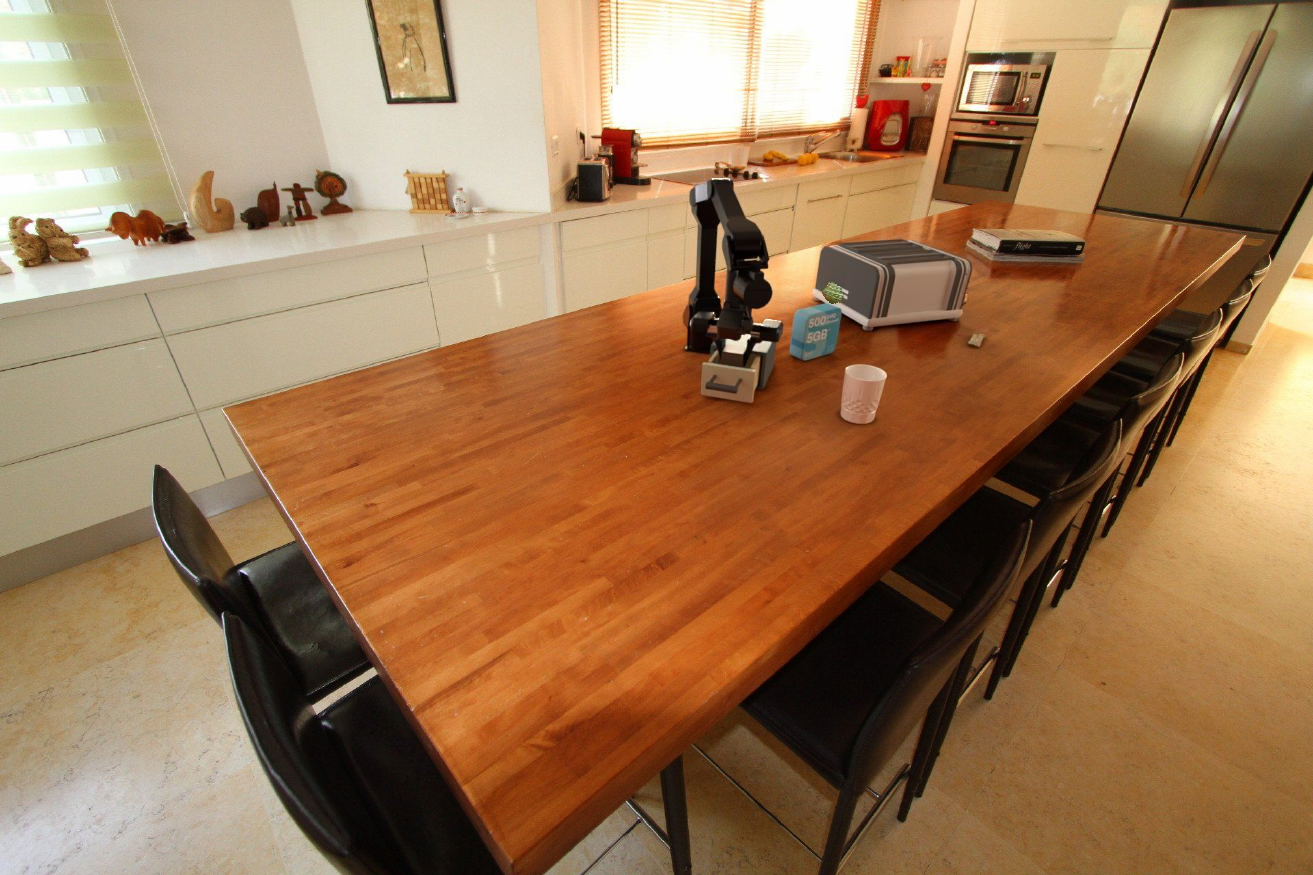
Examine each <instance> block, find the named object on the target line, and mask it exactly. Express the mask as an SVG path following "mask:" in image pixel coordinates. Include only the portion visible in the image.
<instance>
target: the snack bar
mask: <svg viewBox="0 0 1313 875" xmlns="http://www.w3.org/2000/svg"><path fill="white" fill-rule="evenodd" d="M985 338H986V334H985V333H973V334H972V336H971V338H970V340H969V341H968V342H967V344H969V345H971V346H973V347H975V348H980V347H981V344H982V342H983V340H984V339H985Z"/></svg>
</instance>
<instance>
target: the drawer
mask: <svg viewBox="0 0 1313 875" xmlns="http://www.w3.org/2000/svg"><path fill="white" fill-rule="evenodd" d="M762 360H763V355H757V354H751V355H750V357H749V359H748V361H747V364H746V366H745V368H740V367H733V366H727V365H721V359H720V356H719V353H718V349H717V350H716V351H715V353H714V354H713V356H712V357H711V358H710V357H709V360H708V362H706V361H703V363H702V364H701V365H702V366H701V368H702V369H701V385H700V386H701V387H700V395H701V396H707V397H713V398H719V399H726V400H731V401H737V402H743V403H749V404H753V402H754V396H755V391H756V390H757V389H756V387H757V385H758V383H759V381H760V379H761V369H762Z"/></svg>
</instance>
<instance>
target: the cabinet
mask: <svg viewBox="0 0 1313 875" xmlns="http://www.w3.org/2000/svg"><path fill="white" fill-rule="evenodd" d="M749 336H750V335H748V334H745V335H742V336H741V339H740V340H738V341H733V340H730V339H726V345H727V344H731V345H739V346H747V339H748V338H749ZM716 350H717V346H716V344H715V342H713V343H712V345H711V351H710V355H709V356H710V357H709V359H710V358H711V357H712V356H713V354H714V353H715V351H716ZM776 350H777V342H767V341H762V343H760V344H757V343H756V345H755V346H754V348H753V350H752V352H751V354H757V355H763V360H762V369H761V379H760V381H759V383H758V385H757V387H756V389H755V390H760V391H761V390H762V391H763V390H764V387H765V386H766V384H767V382H768V380H769V377H770V375H771V373H772V371H773V369H774V366H775V359H776Z"/></svg>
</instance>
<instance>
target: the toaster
mask: <svg viewBox="0 0 1313 875" xmlns="http://www.w3.org/2000/svg"><path fill="white" fill-rule="evenodd" d="M966 273H967V275H966ZM972 273H973V265H972V262H971V260H969V259H967V258H966V257H962V256H960V255H956V254H953V253H951V252H947V251H946V250H942V249H939V248H936V247H933V246H931V245H927V244H924V243H922V242H919V241H917V240H916V241H915V240H913V239H912V240H911V239H910V240H906V239H903V238H893V239H882V240H881V239H880V240H866V241H865V240H864V241H852V242H850V241H848V242H840V243H838V244H832V245H824V246H823V247H822V249H821V250H820V253H819V258H818V266H817V273H816V279H815V286H814V288H813V289H812V295H813V298H814V301H815V302H823V303H824V304H825V303H827V304H830V305H833V306H835V307H838V308H840V309H841V311H842V314H843V315H844V316H847V317H848V318H850V319H852V320H854V321H855V322H857V323H858V324H860V325H862V329H863V330H864V331H866V332H867V331H868V332H869V331H873V329H874V327H882V326H893V325H902V324H911V323H921V322H929V321H938V320H948V321H950V322H958V320H959V318H960V317H962V315H963V313H964V310H963V305H964V301H965V298H966V294H967V291H968V287H969V283H970V280H971V276H972ZM829 282H830V283H831V282H834V283H835V284H837V286H840V287H841V288H842V290H843V291H840V293H842V294H844V297H843V298H842V301H841V303H839V302H838V303H836V304H835V303H834V304H831V303H829V301H827V300H826V299H825V297H824V296H823V294H822V291H823V290H824V289H825V288H826V287H827V285H828V283H829Z"/></svg>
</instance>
